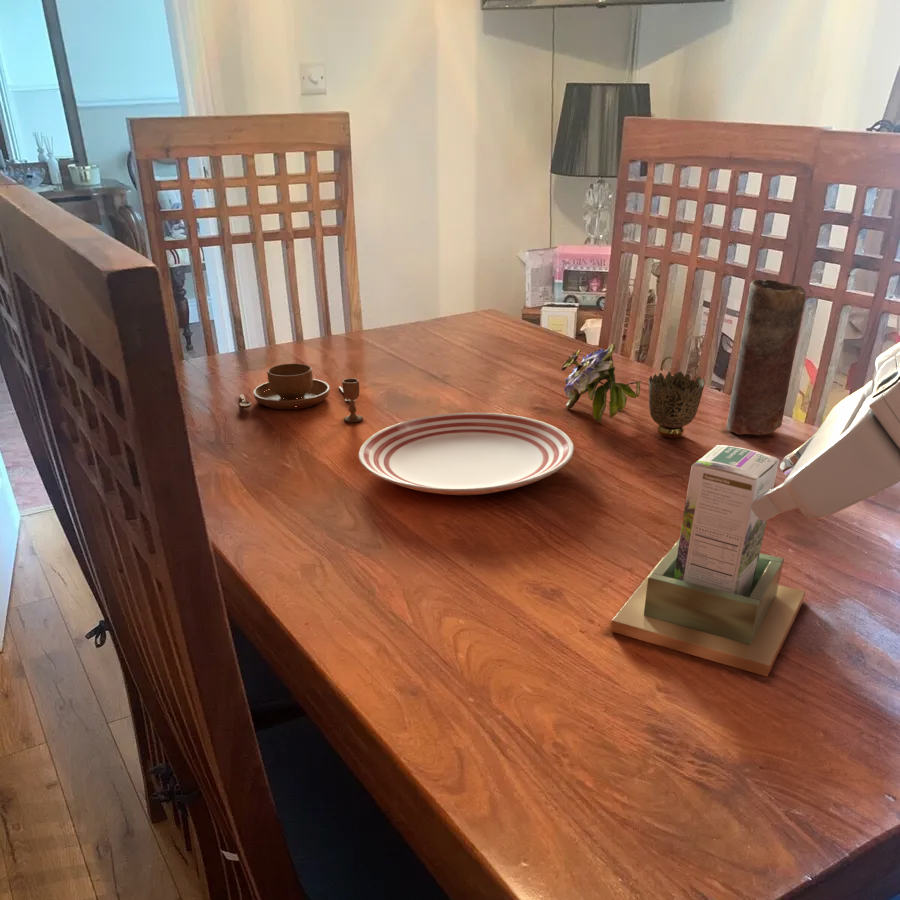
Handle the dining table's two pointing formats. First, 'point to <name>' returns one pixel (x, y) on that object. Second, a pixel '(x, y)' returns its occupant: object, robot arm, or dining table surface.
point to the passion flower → (591, 375)
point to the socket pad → (713, 616)
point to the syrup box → (724, 519)
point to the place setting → (300, 390)
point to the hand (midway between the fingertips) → (771, 489)
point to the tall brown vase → (765, 357)
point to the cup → (674, 402)
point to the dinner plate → (466, 453)
